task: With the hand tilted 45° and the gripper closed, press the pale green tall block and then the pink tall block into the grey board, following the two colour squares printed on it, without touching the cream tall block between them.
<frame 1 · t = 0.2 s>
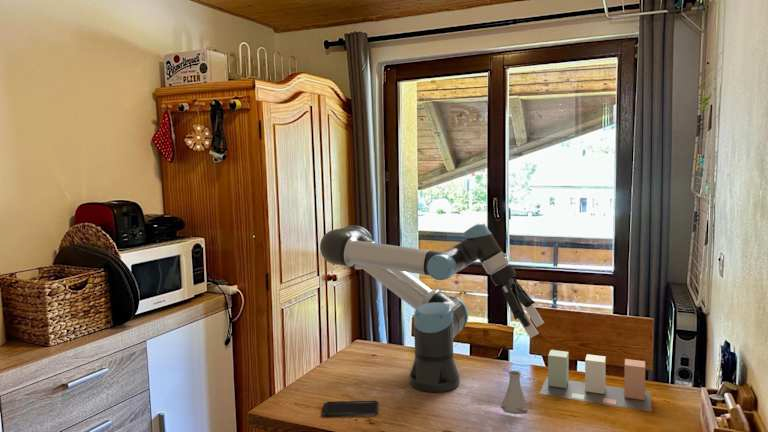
hand: (537, 330, 158), 16 cm above the table, tool tilted 35°, fingers open, 13 cm apart
pink tall block: (634, 379, 143), point 6 cm above the table, slide at 0.0 cm
phone: (350, 412, 143), on the table
flask: (514, 409, 141), on the table
cream tall block: (595, 373, 147), point 6 cm above the table, slide at 0.0 cm
grey board: (594, 398, 146), on the table
pale green tall block: (558, 368, 152), point 6 cm above the table, slide at 0.0 cm
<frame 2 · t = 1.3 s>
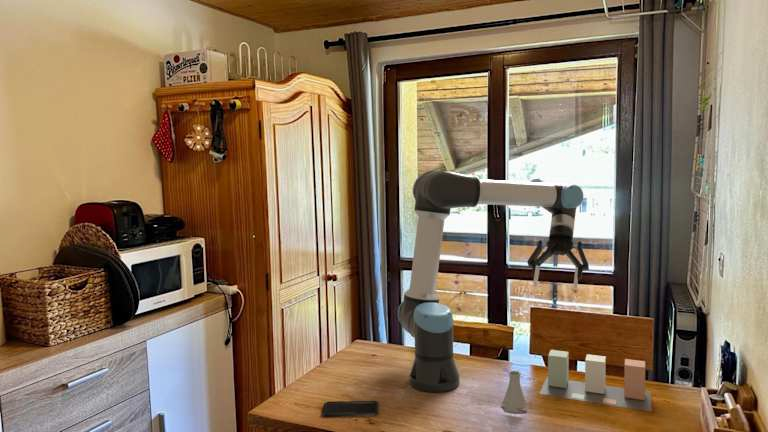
hand: (554, 285, 164), 28 cm above the table, tool tilted 45°, fingers open, 11 cm apart
nothing on the table moved.
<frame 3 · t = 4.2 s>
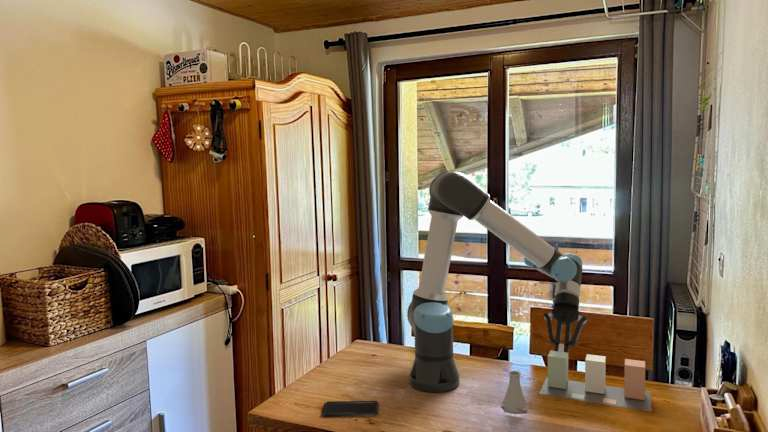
hand: (560, 365, 155), 6 cm above the table, tool tilted 45°, fingers closed
pale green tall block: (558, 369, 151), point 6 cm above the table, slide at 0.6 cm, touching gripper
everything else where it was.
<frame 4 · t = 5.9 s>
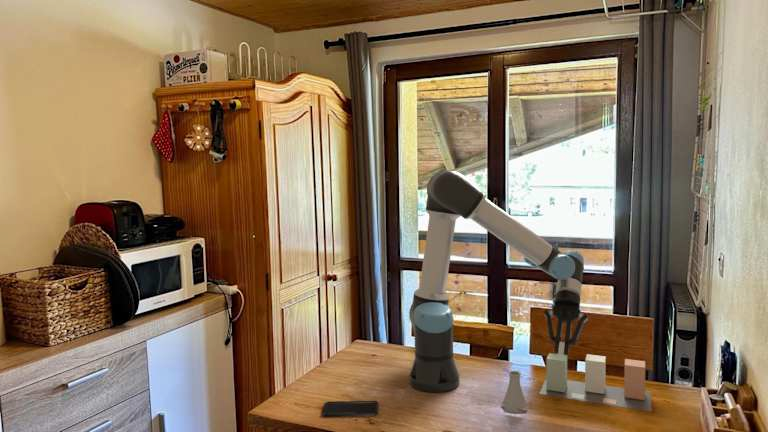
hand: (560, 364, 153), 7 cm above the table, tool tilted 45°, fingers closed
pale green tall block: (556, 372, 149), point 6 cm above the table, slide at 3.1 cm
everything else where it was.
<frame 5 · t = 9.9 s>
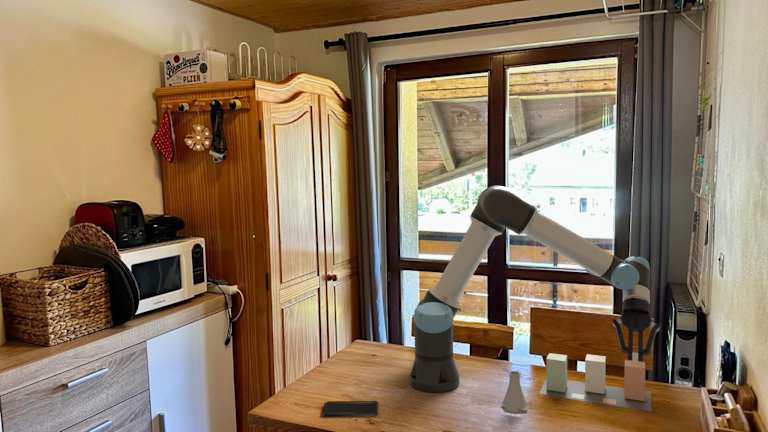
hand: (634, 376, 146), 6 cm above the table, tool tilted 45°, fingers closed
pink tall block: (634, 380, 142), point 6 cm above the table, slide at 0.7 cm, touching gripper
everything else where it was.
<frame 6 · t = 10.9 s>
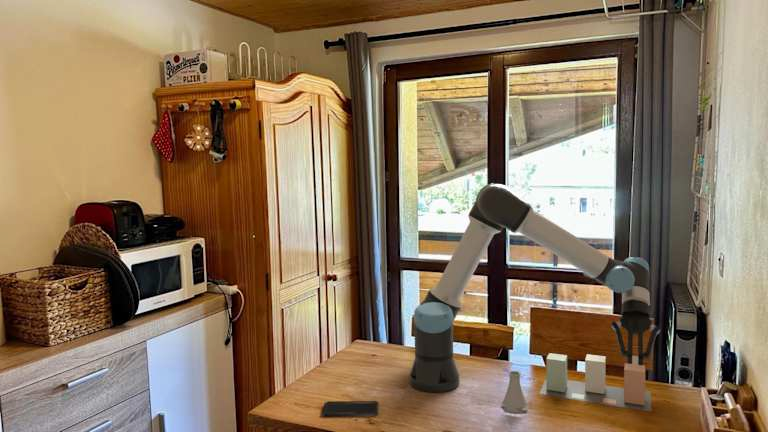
hand: (635, 380, 143), 6 cm above the table, tool tilted 45°, fingers closed
pink tall block: (634, 383, 140), point 6 cm above the table, slide at 3.5 cm, touching gripper
everything else where it was.
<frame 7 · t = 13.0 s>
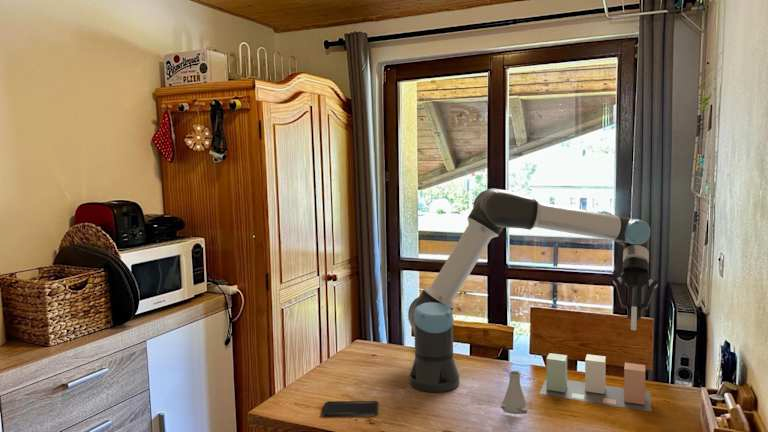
hand: (633, 327, 154), 17 cm above the table, tool tilted 45°, fingers closed
pink tall block: (634, 383, 140), point 6 cm above the table, slide at 3.1 cm
everything else where it was.
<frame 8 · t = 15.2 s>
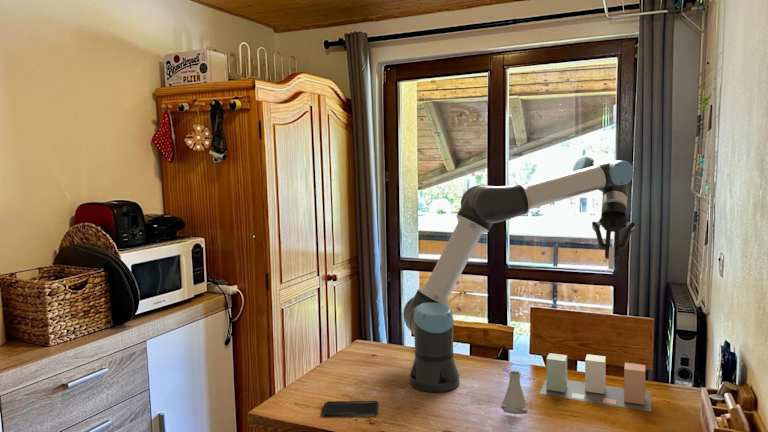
hand: (611, 266, 159), 34 cm above the table, tool tilted 45°, fingers closed
nothing on the table moved.
at the end: pale green tall block slide at 3.1 cm; pink tall block slide at 3.1 cm; cream tall block slide at 0.0 cm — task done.
